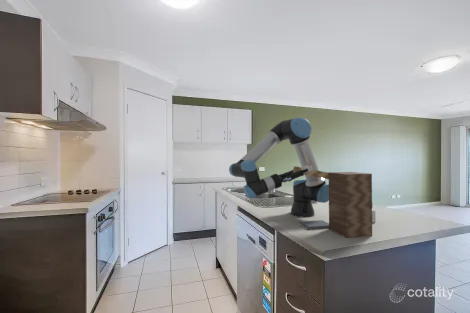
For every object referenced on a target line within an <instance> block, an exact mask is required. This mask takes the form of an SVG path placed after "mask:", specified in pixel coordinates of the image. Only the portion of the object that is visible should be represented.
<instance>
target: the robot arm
mask: <svg viewBox="0 0 470 313" xmlns="http://www.w3.org/2000/svg"><path fill="white" fill-rule="evenodd" d="M311 133H312V126H311V123H310V122H309V120H308V119H307V118H305V117H294V118H290V119H285V120H282V121H281V122H278V123H276V125H274V126H273V127H272V128H271V129H270V130H269V131H267V134H266V135H265V137H264V138H262V139H261V140H260V141H259V142H258V143H257V144H256V145H255V146H254V147H252V148H251V149H250V150H249V151H248V152H247V153H246V154H245V155H244V156H243V157H242V158H240V160H238V161H237V162H235V163H232V164H230V165H229V168H228V171H229V172H228V173H229V174H230V176H233V177H236V178H244V181H245V183H246V184H245V185H243V191H244V195H245V196H246V197H247V198H248V199H250V200H251V199H255V198H257V197H259V196H261V195H264V194H266V193H271V192H272V191H274V190H275V189H276V190H277V189H279V188H281V187H282V186H283V185H282V184H283V183H286V182H289V183H290V182H291V181H293V180H294V181H293V182H292V183H293V185H292V190H293V191H292V192H293V193H292V194H293V195H292V196H293V203H292V206H291V208H290V214H291V215H292V214H293V216H295V215H296V216H295V217H301V216H302V217H304V218H305V217H314V216H315V210H314V205H313V204H312V202H317V203H323V204H324V203H325V204H326V203H327V202H328V203H329V183H327V182H326V179H324V178H319V177H314V176H308V175H304V174H305V173H307V172H310V171H312V170H317V171H320V170H319V167H318V165H317V162H316V158H315V156H314V153H313V150H312V147H311V143H310V141H309V140H310V139H311V136H310V135H311ZM286 140H289V141H288V142H289V143H290V145H292V146H294V149H295V152H296V154H297V157H298V160H299V163H300V167H301V168H303V169H301V170H300V171H297V172H294V173H293V169H292V170H289V171H287V172H283V173H280V174H277V173H273V174H271V175H269V176H266V177H264V178H261V177H260V174H259V171H258V167H257V165H256V163H257V162H259V161H260V160H261V159H262V158H263V157H264V156H265V155H266V154H267V153H268V152H269V151H270V150H272V148H273V147H274V146H275V145H278V144H280V143H281V142H283V141H286ZM300 177H305V179H298V178H300ZM295 179H296V180H295Z"/></svg>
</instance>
